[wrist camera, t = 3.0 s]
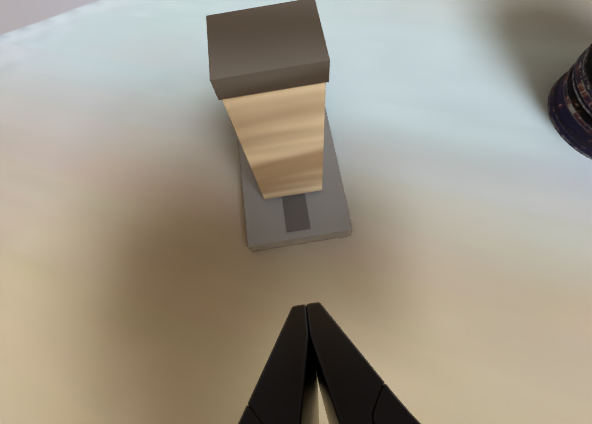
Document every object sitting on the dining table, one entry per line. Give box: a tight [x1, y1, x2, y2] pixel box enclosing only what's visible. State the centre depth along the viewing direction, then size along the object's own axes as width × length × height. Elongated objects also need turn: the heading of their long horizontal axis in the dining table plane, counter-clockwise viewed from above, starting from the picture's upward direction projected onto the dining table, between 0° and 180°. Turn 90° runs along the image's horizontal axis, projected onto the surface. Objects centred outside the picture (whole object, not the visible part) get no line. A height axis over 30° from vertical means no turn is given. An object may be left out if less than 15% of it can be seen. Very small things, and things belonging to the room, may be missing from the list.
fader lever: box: [206, 0, 330, 200], centre depth 16 cm, size 3×4×11 cm
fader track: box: [238, 109, 352, 251], centre depth 23 cm, size 16×7×2 cm, turn 8°
